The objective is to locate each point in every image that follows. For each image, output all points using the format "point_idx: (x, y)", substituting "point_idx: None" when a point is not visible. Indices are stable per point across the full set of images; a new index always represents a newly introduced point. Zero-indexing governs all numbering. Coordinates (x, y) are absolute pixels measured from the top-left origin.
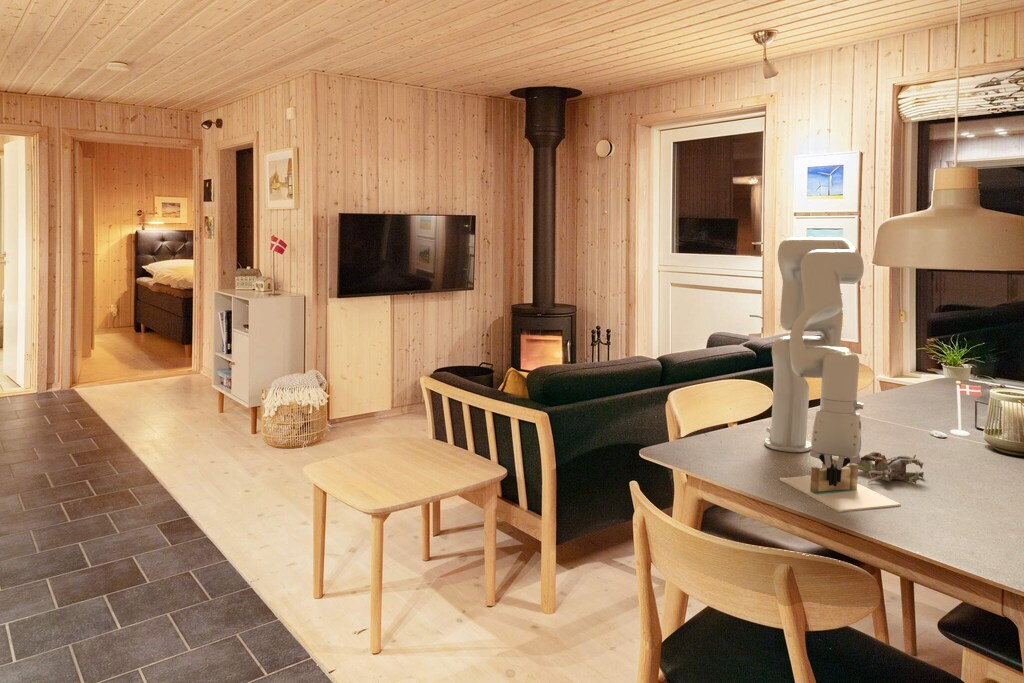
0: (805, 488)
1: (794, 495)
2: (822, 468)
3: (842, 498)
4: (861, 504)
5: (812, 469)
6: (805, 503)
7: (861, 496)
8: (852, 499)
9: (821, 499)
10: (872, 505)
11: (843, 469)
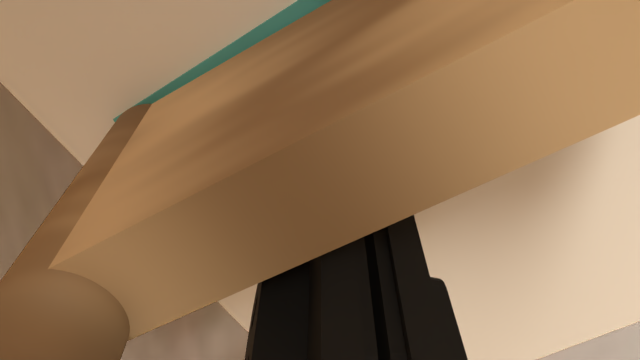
0: (55, 45)
1: (4, 216)
2: (164, 224)
3: (418, 225)
4: (541, 310)
5: (13, 356)
6: (125, 346)
7: (629, 122)
8: (504, 228)
9: (235, 293)
10: (626, 304)
11: (578, 131)
